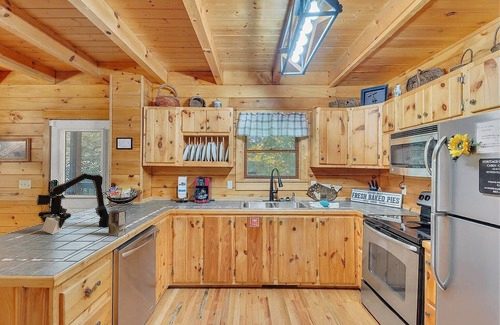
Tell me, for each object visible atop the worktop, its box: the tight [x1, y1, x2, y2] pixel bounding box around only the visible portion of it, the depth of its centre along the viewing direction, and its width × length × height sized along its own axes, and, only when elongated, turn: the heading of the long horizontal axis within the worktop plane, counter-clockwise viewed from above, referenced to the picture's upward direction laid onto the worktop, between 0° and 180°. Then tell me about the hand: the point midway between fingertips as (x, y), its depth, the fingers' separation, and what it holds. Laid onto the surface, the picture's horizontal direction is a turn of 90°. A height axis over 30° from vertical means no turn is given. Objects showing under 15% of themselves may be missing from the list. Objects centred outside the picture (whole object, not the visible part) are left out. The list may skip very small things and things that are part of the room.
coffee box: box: [107, 209, 127, 237], centre depth 180 cm, size 9×6×16 cm
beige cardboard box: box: [41, 216, 65, 235], centre depth 178 cm, size 8×8×9 cm
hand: (53, 227), depth 178 cm, fingers open, 9 cm apart
